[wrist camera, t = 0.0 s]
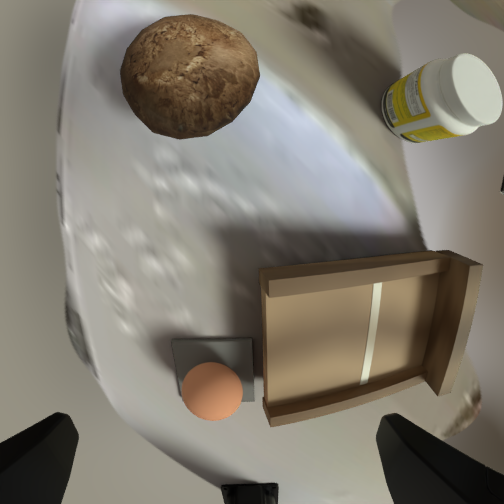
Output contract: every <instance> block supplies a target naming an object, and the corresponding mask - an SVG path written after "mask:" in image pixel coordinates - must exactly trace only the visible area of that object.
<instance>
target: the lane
mask: <svg viewBox="0 0 504 504" xmlns="http://www.w3.org/2000/svg"><path fill="white" fill-rule="evenodd" d="M482 268H483V264H480V263H478V262H476V261H473V260H471V259H469V258H466V257H464V256H461V255H459V254H457V253H454V252H452V251H449V250H442V251H436V252H435V251H432V250H429V251H420V252H411V253H402V254H394V255H385V256H376V257H366V258H357V259H348V260H338V261H329V262H319V263H309V264H299V265H289V266H279V267H268V268H259V284H260V286H261V299H262V336H263V377H264V397H263V409H264V411H265V414H266V417H267V419H268V422H269V425H270V427H275V426H280V425H285V424H290V423H295V422H299V421H303V420H308V419H312V418H316V417H320V416H324V415H328V414H331V413H335V412H338V411H342V410H345V409H349V408H352V407H355V406H359V405H362V404H365V403H368V402H371V401H374V400H377V399H380V398H383V397H386V396H388V395H391V394H394V393H396V392H399V391H402V390H404V389H407V388H409V387H412V386H414V385H417V384H419V383H422V382H424V381H426V382H427V384H428V385H429V386H430V387H431V389H432V390H433V391H434V392H435V394H436V395H437V396H441V395H445V394H448V393H451V390H452V387H453V385H454V382H455V379H456V376H457V373H458V370H459V367H460V364H461V361H462V357H463V354H464V351H465V347H466V344H467V340H468V336H469V332H470V329H471V325H472V321H473V316H474V312H475V307H476V303H477V298H478V292H479V286H480V281H481V275H482Z"/></svg>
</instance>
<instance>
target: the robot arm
mask: <svg viewBox="0 0 504 504" xmlns="http://www.w3.org/2000/svg"><path fill="white" fill-rule="evenodd" d="M78 440H79V435H78V432H77V429H76V428H75V426H74V424H73V422H72V420H71V418H70V416H69V415H68V414H64V413H60V412H56V413H54V414H52V415H50V416H49V417H47V418H45V419H43V420H42V421H40V422H38V423H36V424H34V425H33V426H31V427H29V428H27V429H25V430H24V431H22V432H20V433H18V434H16V435H14V436H12V437H11V438H9V439H7V440H5V441H3V442H1V443H0V504H61V502H62V499H63V495H64V493H65V490H66V487H67V483H68V481H69V478H70V474H71V469H72V465H73V461H74V456H75V452H76V448H77V444H78ZM376 442H377V446H378V450H379V454H380V458H381V462H382V466H383V471H384V475H385V479H386V483H387V486H388V489H389V491H390V494H391V497H392V499H393V502H394V504H504V475H503V474H501V473H499V472H497V471H495V470H493V469H491V468H490V467H486V466H485V465H484V464H482V463H480V462H478V461H477V460H475V459H473V458H471V457H469V456H468V455H466V454H464V453H462V452H461V451H459V450H457V449H455V448H454V447H452V446H450V445H448V444H447V443H445V442H444V441H442V440H440V439H438V438H437V437H435V436H433V435H432V434H430V433H429V432H427V431H425V430H424V429H422V428H420V427H419V426H417V425H415V424H414V423H412V422H411V421H409V420H407V419H406V418H404V417H403V416H401V415H399V414H398V413H392V414H388V415H384V416H383V417H382V419H381V421H380V425H379V428H378V431H377V434H376ZM278 489H279V486H278V484H277V483H267V484H224V485H222V486H221V491H222V495H223V499H224V503H225V504H278Z"/></svg>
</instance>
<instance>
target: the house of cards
mask: <svg viewBox="0 0 504 504" xmlns="http://www.w3.org/2000/svg"><path fill="white" fill-rule="evenodd" d="M500 192H501V193H502V194H503V195H504V176H503V180H502V186H501V190H500Z"/></svg>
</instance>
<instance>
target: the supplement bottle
mask: <svg viewBox="0 0 504 504" xmlns="http://www.w3.org/2000/svg"><path fill="white" fill-rule="evenodd" d="M501 111H502V96H501V91H500V87H499V85H498V82H497V80H496V78H495V76H494V75H493V73H492V72H491V70H490V69H489V68H488V66H487V65H486V64H485V63H484V62H483V61H482V60H480V59H479V58H477V57H476V56H473V55H471V54H467V53H464V54H459V55H457V56H454V57H452V58H449V59H436V60H433V61H431V62H429V63H427V64H426V65H424V66H422V67H420V68H418V69H417V70H415V71H413V72H412V73H410V74H409V75H407V76H405V77H403V78H402V79H400V80H398V81H397V82H395V83H394V84H392V85H391V86H389V87H388V88H387V90H386V91H385V93H384V95H383V98H382V113H383V117H384V119H385V122H386V123H387V125H388V127H389V128H390V129H391V131H392V132H393V133H394V134H395V135H397V136H398V137H399V138H401V139H402V140H405V141H407V142H411V143H420V142H426V141H432V140H438V139H444V138H450V137H457V136H463V135H468V134H470V133H472V132H474V131H475V130H476V129H477V128H478V127H479V126H483V125H488V124H492V123H494V122H495V121H497V119H498V118H499V116H500V114H501Z"/></svg>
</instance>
